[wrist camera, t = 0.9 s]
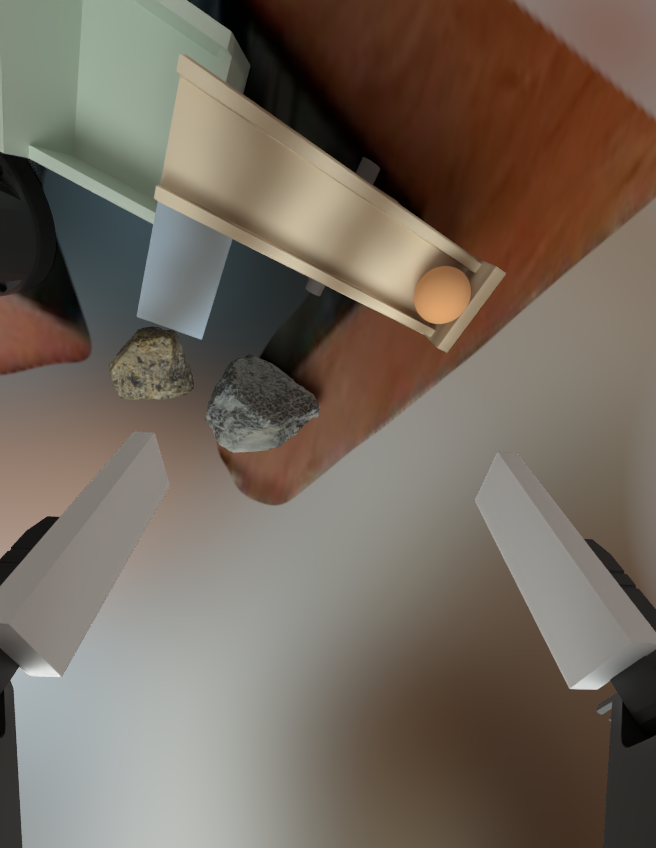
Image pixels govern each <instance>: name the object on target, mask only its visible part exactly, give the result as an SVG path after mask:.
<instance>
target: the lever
mask: <svg viewBox="0 0 656 848" xmlns="http://www.w3.org/2000/svg"><path fill="white" fill-rule="evenodd" d="M176 72H177V73H178V74H179V76H180V78H179V84H178V89H177V95H176V100H175V106H174V111H173V117H172V122H171V128H170V133H169V139H168V145H167V150H166V156H165V161H164V167H163V172H162V178H161V183H160V185H156V189H155V195H154V199H156V200H157V201H158V202H157V207H156V213H155V218H154V224H153V229H152V235H151V240H150V246H149V251H148V257H147V262H146V268H145V273H144V279H143V284H142V290H141V295H140V301H139V306H138V312H137V317H139V318H142V319H145V320H147V321H150V322H153V323H156V324H159V325H161V326H164V327H167V328H170V329H173V330H176V331H178V332H181V333H184V334H187V335H190V336H193V337H196V338H198V339H202V337H203V334H204V331H205V327H206V324H207V321H208V318H209V314H210V311H211V308H212V304H213V301H214V298H215V294H216V291H217V288H218V284H219V281H220V278H221V275H222V271H223V268H224V265H225V262H226V258H227V255H228V252H229V248H230V245H231V242H232V239H234V240H236V241H238V242H240V243H242V244H244V245H246V246H248V247H250V248H252V249H254V250H256V251H258V252H260V253H262V254H264V255H266V256H268V257H270V258H272V259H274V260H276V261H278V262H280V263H282V264H284V265H286V266H288V267H290V268H292V269H294V270H296V271H298V272H300V273H302V274H304V275H306V276H308V277H310V278H309V280H308V282H307V284H306V287H305V288H306V290H308V291H309V292H311V293H312V294H314V295H317V296H320V295H321V293H322V291H323V289H324V287H325V285H326V286H328V287H330V288H332V289H334V290H336V291H338V292H340V293H342V294H344V295H346V296H348V297H350V298H352V299H354V300H356V301H358V302H360V303H362V304H364V305H366V306H368V307H370V308H372V309H374V310H376V311H378V312H380V313H382V314H384V315H386V316H388V317H390V318H392V319H394V320H396V321H398V322H400V323H402V324H404V325H406V326H408V327H410V328H412V329H414V330H416V331H418V332H420V333H422V334H423V335H425V336H426V337H427V338H428V339H429V340H430V341H431V342H432V343H433V344H434V345H435V346H436V347H437V348H439V349H441V350H443V351H445V352H448V351H449V349H450V348H451V347H452V345H453V344H454V343H455V341H456V340H457V339H458V337H459V336H460V335H461V333H462V332H463V331H464V329H465V328H466V327H467V325H468V324H469V323H470V321H471V320H472V319H473V317H474V316H475V315H476V313H477V312H478V311H479V309H480V308H481V307H482V305H483V304H484V303H485V301H486V300H487V299H488V297H489V296H490V295H491V293H492V292H493V291H494V289H495V288H496V287H497V285H498V284H499V283H500V281H501V280H502V279H503V277H504V276H505V275H506V273H505V272H503V271H502V270H500V269H499V268H498V267H496V266H494V265H491V264H489V263H487V262H484V261H482V260H479V259H477V258H475V257H474V256H472V255H471V254H469V253H468V252H466V251H465V250H464V249H462V248H461V247H459V246H458V245H457V244H455V243H454V242H452V241H451V240H449V239H448V238H447V237H445V236H444V235H442V234H441V233H439V232H438V231H437V230H435V229H434V228H432V227H431V226H430V225H428V224H427V223H425V222H424V221H422V220H421V219H420V218H418V217H417V216H415V215H414V214H412V213H411V212H410V211H408V210H407V209H405V208H404V207H403V206H401V205H400V204H398V203H397V202H395V201H394V200H393V199H391V198H390V197H388V196H387V195H385V194H384V193H383V192H381V191H380V190H378V189H377V188H376V187H374V186H373V184H374V181H375V179H376V177H377V175H378V173H379V171H380V168H379V167H378V166H377V165H376V164H375V163H373V162H372V161H370V160H369V159H367V158H365V157H363V158H362V160H361V163H360V165H359V167H358V169H357V172H356V173H354V172H353V171H351V170H350V169H349V168H347V167H346V166H344V165H343V164H341V163H340V162H339V161H337V160H336V159H334V158H333V157H331V156H330V155H329V154H327V153H326V152H324V151H323V150H322V149H320V148H319V147H317V146H316V145H314V144H313V143H312V142H310V141H309V140H307V139H306V138H304V137H303V136H302V135H300V134H299V133H297V132H296V131H295V130H293V129H292V128H290V127H289V126H287V125H286V124H285V123H283V122H282V121H280V120H279V119H277V118H276V117H275V116H273V115H272V114H270V113H269V112H268V111H266V110H265V109H263V108H262V107H260V106H259V105H258V104H256V103H255V102H253V101H252V100H250V99H249V98H248V97H246V96H245V95H243V94H242V93H241V92H239V91H238V90H236V89H235V88H233V87H232V86H231V85H229V84H228V83H226V82H225V81H223V80H222V79H221V78H219V77H218V76H216V75H215V74H214V73H212V72H211V71H209V70H208V69H206V68H205V67H204V66H202V65H201V64H199V63H198V62H196V61H195V60H194V59H192V58H191V57H189V56H188V55H187V54H185V53H184V56H183V55H182V54H180V53H179V58H178V64H177V70H176ZM441 266H451V267H454V268H457V269H459V270H461V271H462V272H463V273H464V274H465V275H466V276H467V278H468V280H469V282H470V286H471V297H470V301H469V304H468V306H467V308H466V309H465V311H464V312H463V313H462V314H461V315H460V316H459V317H458V318H456V319H455V320H453V321H451V322H448V323H444V324H433V323H430V322H428V321H426V320H424V319H423V318H422V317H421V316H420V315H419V314H418V312H417V310H416V308H415V304H414V293H415V289H416V286H417V284H418V282H419V281H420V279H421V278H422V277H423V276H424V275H425V274H426V273H427V272H429V271H430V270H432V269H434V268H437V267H441Z"/></svg>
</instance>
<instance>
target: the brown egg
mask: <svg viewBox="0 0 656 848" xmlns="http://www.w3.org/2000/svg"><path fill="white" fill-rule="evenodd" d="M470 297H471V286H470V282H469V280H468V278H467V276H466V275H465V274H464V273H463V272H462V271H461V270H459V269H457V268H454V267H451V266H441V267H437V268H434V269H432V270H430V271H429V272H427V273H426V274H425V275H424V276H423V277H422V278H421V279H420V281H419V282H418V284H417V286H416V289H415V293H414V304H415V308H416V310H417V312H418V314H419V315H420V316H421V317H422V318H423V319H424V320H426V321H428V322H430V323H433V324H444V323H448V322H451V321H453V320H455V319H456V318H458V317H459V316H460V315H461V314H462V313H463V312H464V311H465V309H466V308H467V306H468V304H469V301H470Z"/></svg>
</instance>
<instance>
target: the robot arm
mask: <svg viewBox="0 0 656 848" xmlns="http://www.w3.org/2000/svg"><path fill="white" fill-rule="evenodd" d="M55 252H56V233H55V226H54V221H53V217H52V213H51V210H50V207H49V204H48V201H47V199H46V196H45V194H44V192H43V189H42V187H41V185H40V183H39V181H38V180H37V178H36V176H35V174H34V172H33V171H32V169H31V168H30V166H29V164H28V163H27V161H26V160H25V159H24V157H20V156H15V155H9V154H4V153H2V152H0V296H5V295H10V294H14V293H19V292H23V291H26V290H29V289H31V288H33V287H35V286H37V285H38V284H39V283H40V282H42V281H43V280H44V278H45V277H46V276H47V274H48V273H49V271H50V269H51V267H52V265H53V261H54V258H55ZM169 486H170V485H169V482H168V478H167V475H166V471H165V468H164V464H163V460H162V457H161V453H160V450H159V446H158V443H157V439H156V436H155V433H148V432H133V433H132V434H131V435H130V437H129V438H128V439H127V440H126V441H125V442H124V444H123V445H122V446H121V447H120V448H119V450H117V452H116V453H115V454H114V455H113V456H112V457H111V459H110V460H109V461H108V462H107V463H106V464H105V465H104V467H103V468H102V469H101V470H100V471H99V473H98V474H97V475H96V476H95V477H94V478H93V479H92V481H91V482H90V483H89V484H88V485H87V486H86V487H85V489H84V490H83V491H82V492H81V493H80V495H79V496H78V497H77V498H76V499H75V500H74V501H73V503H72V504H71V505H70V506H69V507H68V508H67V510H66V511H65V512H64V513H63V514H62V515H61V517H50V516H49V517H46V518H44V519H43V520H41V521H40V522H39V523H37V524H36V525H34V526H33V527H31V528H30V529H28V530H27V531H26V532H25V533H24V534H23V535H22V536H21V537H20V538H19V539H18V541H17V542H16V543H15V544H14V545H13V546H12V547H11V550H10V551H7V553H5V555H4V556H3V557H2V558H1V559H0V848H22V835H21V817H20V799H19V780H18V766H17V765H18V763H17V744H16V727H15V709H14V691H13V686H12V684H11V681H10V680H11V678H12V677H13V675H14V674H15V672H16V670H17V669H18V668H19V667H20V668H21V669H23V670H24V671H25V672H26V673H27V674H28V675H29V676H45V677H62V676H63V674H64V672H65V670H66V669H67V667H68V665H69V663H70V661H71V660H72V658H73V656H74V654H75V652H76V651H77V649H78V647H79V645H80V644H81V642H82V640H83V638H84V637H85V635H86V633H87V631H88V629H89V628H90V626H91V624H92V623H93V621H94V619H95V617H96V615H97V613H98V612H99V610H100V608H101V607H102V605H103V603H104V601H105V600H106V598H107V596H108V594H109V592H110V591H111V589H112V587H113V585H114V584H115V582H116V580H117V578H118V577H119V574H120V573H121V571H122V569H123V568H124V566H125V564H126V562H127V561H128V558H129V557H130V555H131V554H132V552H133V550H134V548H135V547H136V545H137V543H138V541H139V539H140V538H141V536H142V534H143V532H144V531H145V529H146V527H147V525H148V524H149V522H150V520H151V518H152V516H153V515H154V513H155V511H156V509H157V508H158V506H159V504H160V502H161V501H162V499H163V497H164V495H165V493H166V492H167V490H168V488H169ZM475 502H476V504H477V506H478V508H479V510H480V512H481V514H482V516H483V518H484V520H485V522H486V524H487V526H488V528H489V530H490V532H491V534H492V536H493V538H494V540H495V542H496V544H497V546H498V548H499V550H500V552H501V554H502V556H503V558H504V560H505V562H506V564H507V566H508V568H509V570H510V572H511V574H512V576H513V578H514V580H515V582H516V584H517V586H518V588H519V590H520V592H521V594H522V596H523V598H524V600H525V601H526V604H527V605H528V607H529V609H530V611H531V613H532V615H533V617H534V619H535V621H536V623H537V625H538V627H539V629H540V631H541V633H542V635H543V637H544V639H545V641H546V643H547V645H548V647H549V649H550V651H551V653H552V655H553V657H554V659H555V661H556V663H557V665H558V667H559V669H560V671H561V673H562V675H563V677H564V679H565V681H566V683H567V685H568V687H569V689H596V690H597V689H598V688H600V687H602V686H603V685H605V684H606V683H607V682H609V681H611V682H612V684H613V686H614V687H615V689H616V691H617V692H618V693H617V694H615V695H613V696H612V697H610V698H608V699H607V700H605V701H604V702H602V703H601V704H599V706H598V708H597V712H598V713H600V714H601V715H602V714H603V713H605V712H607V711H608V710H610V709H612V714H611V717H610V718H609V721H610V722H611V730H610V746H609V762H608V780H607V795H606V814H605V829H604V847H603V848H656V609H655V608H654V607H653V606H652V604H651V603H650V602H649V601H648V599H647V598H646V597H645V596H644V595H643V593H642V592H641V591H640V590H639V589H637V588H636V587H635V586H636V585H635V584H634V582H633V581H632V580H631V579H630V578H629V576H628V575H627V574H624V570H623V569H622V568H621V567H620V565H619V564H618V563H617V562H616V561H615V559H614V558H613V557H612V556H611V554H610V553H608V552H607V551H606V550H605V549H603V548H602V547H601V546H600V545H599V544H597V543H596V542H595V541H594V540H592V539H583V538H582V536H581V535H580V534H579V533H578V531H577V530H576V529H575V528H574V526H573V525H572V523H571V522H570V521H569V520H568V518H567V517H566V516H565V514H564V513H563V512H562V511H561V509H560V508H559V507H558V505H557V504H556V503H555V502H554V500H553V499H552V498H551V496H550V495H549V494H548V493H547V491H546V490H545V489H544V487H543V486H542V485H541V484H540V482H539V481H538V480H537V479H536V477H535V476H534V475H533V473H532V472H531V471H530V469H529V468H528V467H527V466H526V464H525V463H524V462H523V460H522V459H521V458H520V456H519V455H518V454H517V453H512V452H497V454H496V456H495V458H494V460H493V463H492V465H491V467H490V469H489V471H488V474H487V476H486V478H485V480H484V482H483V484H482V486H481V488H480V491H479V493H478V495H477V497H476V499H475Z"/></svg>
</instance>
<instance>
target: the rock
mask: <svg viewBox="0 0 656 848" xmlns="http://www.w3.org/2000/svg"><path fill="white" fill-rule="evenodd" d="M109 367H110V376H111V379H112V380H113V382H114V385H113V387H114V389H115V390H116V391H117V393H118V394H119V396H120V398H125V399H131V400H137V399H140V398H144V399H152V398H153V399H162V400H163V399H169V398H174V397H177V396H181V395H186V394H188V393H189V392H191V391H192V389H193V385H194V383H193V378H192V377H193V376H192V374H191V370H190V367H189V365H188V364H186V362H185V355H184V354H183V348H182V346H181V344H180V340H179V337H178V336H177V334H176V332H174V331H172V330H168V331H165V330H162V329H161V328H159V327H147V328H142V329H140V330H138V331H137V332H136V333H135V335H134V336H133V337H132V338H131V339H130V340H129V341H128V342H127V343H126V344H125V345H124V346H123V348H122V349H121V350H120V352H119V353H118V354H117V356H116V358H115V359H114V361H113V362H112V363H111V364H109Z"/></svg>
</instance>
